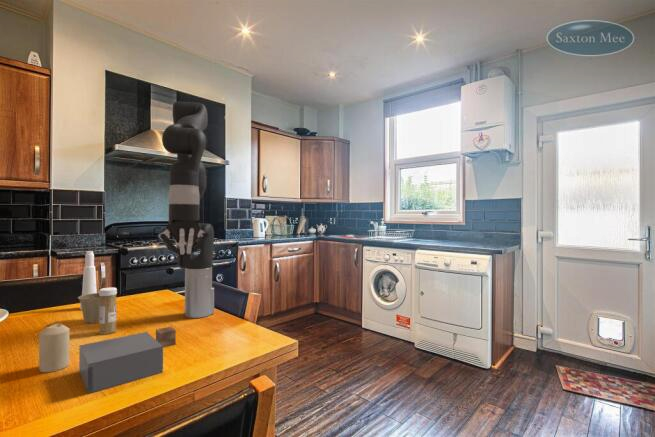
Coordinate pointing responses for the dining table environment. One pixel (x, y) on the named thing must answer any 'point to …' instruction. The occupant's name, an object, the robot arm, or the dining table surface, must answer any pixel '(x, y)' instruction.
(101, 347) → the block
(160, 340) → the block
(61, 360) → the candle
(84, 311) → the flower pot
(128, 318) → the dining table surface
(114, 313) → the sprinkles bottle
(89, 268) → the cosmetic bottle
